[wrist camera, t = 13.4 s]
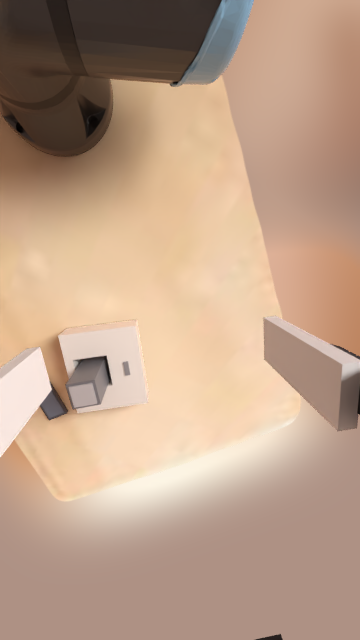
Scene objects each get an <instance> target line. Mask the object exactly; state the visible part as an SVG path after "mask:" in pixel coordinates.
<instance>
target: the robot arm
mask: <svg viewBox="0 0 360 640" xmlns="http://www.w3.org/2000/svg"><path fill="white" fill-rule="evenodd" d="M253 1H254V0H0V113H1V114H2V116H3V117H4V119H5V120H6V121H7V123H8V124H9V125H10V126H11V127H12V129H13V130H14V131H15V132H16V133H18V134H19V135H20V136H21V137H22V138H23V139H24V140H26V141H27V142H28V143H29V144H31V145H32V146H34V147H35V148H37V149H39V150H41V151H43V152H45V153H48V154H51V155H56V156H74V155H78V154H81V153H83V152H85V151H87V150H89V149H91V148H92V147H93V146H94V145H96V144H97V143H98V142H99V141H100V139H101V138H102V137H103V135H104V134H105V132H106V130H107V128H108V126H109V123H110V120H111V115H112V109H113V93H112V86H111V82H110V79H117V80H130V81H142V82H155V83H168V84H170V85H171V86H173V87H179V86H181V85H182V84H200V85H204V84H209V83H212V82H214V81H215V80H216V79H217V78H218V77H219V76H220V75H222V74H223V72H224V71H225V70H226V68H227V67H228V65H229V63H230V62H231V60H232V58H233V56H234V54H235V52H236V49H237V47H238V45H239V42H240V40H241V37H242V35H243V32H244V29H245V26H246V24H247V21H248V18H249V14H250V11H251V8H252V5H253ZM264 360H265V361H266V362H267V363H268V364H270V365H271V366H272V367H273V368H274V369H275V370H276V371H277V372H278V373H279V374H280V375H281V376H282V377H283V378H284V379H285V380H286V381H287V382H288V383H289V384H290V385H291V386H292V387H293V388H294V389H295V390H296V391H297V392H298V393H299V394H300V395H301V396H302V397H303V398H304V399H305V400H306V401H307V402H308V403H309V404H310V405H311V406H312V407H313V408H315V409H316V410H317V411H318V412H319V413H320V414H321V415H322V416H323V417H324V418H325V419H326V420H327V421H328V422H329V423H330V424H331V425H332V426H333V427H334V428H335V429H336V430H337V431H342V430H348V429H355V428H357V422H358V414H360V356H356V354H353V353H352V352H349V351H348V350H346V349H344V348H342V347H340V346H336V345H333V344H329V343H327V342H325V341H323V340H321V339H319V338H317V337H315V336H313V335H311V334H310V333H308V332H306V331H304V330H302V329H300V328H298V327H296V326H294V325H292V324H290V323H288V322H287V321H285V320H283V319H281V318H279V317H277V316H271V317H264ZM51 390H52V388H51V385H50V381H49V377H48V374H47V370H46V367H45V363H44V359H43V356H42V352H41V348H40V347H35V348H27V349H25V350H24V351H22V352H21V353H20V354H18V355H17V356H16V357H14V358H13V359H12V360H10V361H9V362H8V363H6V364H5V365H3V366H2V367H1V368H0V457H1V456H2V455H3V453H4V452H5V451H6V449H7V448H8V447H9V445H10V444H11V443H12V441H13V440H14V439H15V438H16V436H17V435H18V434H19V432H20V431H21V430H22V428H23V427H24V426H25V424H26V423H27V422H28V420H29V419H30V418H31V416H32V415H33V414H34V412H35V411H36V410H37V409H38V407H39V406H40V405H41V403H42V402H43V401H44V399H45V398H46V397H47V395H48V394H49V393H50V391H51ZM256 640H282V637H281V634H280V635H274V636H270V637H265V638H260V639H256Z"/></svg>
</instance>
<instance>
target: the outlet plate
mask: <svg viewBox="0 0 360 640" xmlns="http://www.w3.org/2000/svg"><path fill="white" fill-rule="evenodd" d="M58 338H59V342H60V346H61V350H62V354H63V358H64V362H65V366H66V370H67V374H68V378H69V379H70V377H71V376H72V374H73V373H74V371H75V370H76V368H77V367H78V365H79V364H80V363H81V361H82V359H84V358H92V357H99V356H106V355H107V359H108V364H109V369H110V374H111V378H110V381H109V383H108V386H107V389H106V392H105V394H104V397H103V400H102V403H101V405H95V406H89V407H84V408H78V409H76V410H77V413H84V412H91V411H97V410H104V409H111V408H117V407H124V406H131V405H138V404H144V403H148V393H149V390H148V384H147V377H146V371H145V365H144V359H143V352H142V346H141V340H140V333H139V327H138V321H137V319H136V320H128V321H121V322H113V323H105V324H97V325H89V326H81V327H74V328H67V329H65V330H64V331H63V332H62V333H61V334H60V335H58Z"/></svg>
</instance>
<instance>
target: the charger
mask: <svg viewBox="0 0 360 640" xmlns="http://www.w3.org/2000/svg"><path fill="white" fill-rule="evenodd" d="M110 378H111V374H110V369H109V364H108V359H107V355H106V356H99V357H92V358H84V359H83V360H82V361H81V363H80V364H79V365H78V367H77V368H76V370H75V371H74V373H73V374H72V376H71V377H70V379H69V380H68V382H67V383H66V388H67V392H68V395H69V398H70V402H71V405H72V409H78V408H84V407H89V406H95V405H101V403H102V400H103V397H104V394H105V392H106V389H107V386H108V383H109V381H110Z"/></svg>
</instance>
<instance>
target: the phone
mask: <svg viewBox="0 0 360 640" xmlns="http://www.w3.org/2000/svg"><path fill="white" fill-rule="evenodd" d="M50 385H51V388H52V390H51V391H50V393H49V394H48V395H47V397H46V398H45V399H44V401H43V402H42V403H41V405H40V407H41V408H42V410H43V411H44V413H45V414H46V416H47V418H48V419H49V420H51V419H54V418H56V417H59V416H61V415H64V414H66V413H67V412H68V410H67V409H66V407H65V405H64V404H63V402H62V400H61V399H60V397H59V395H58V394H57V392H56V390H55V389H54V387H53V385H52V384H51V382H50Z"/></svg>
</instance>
